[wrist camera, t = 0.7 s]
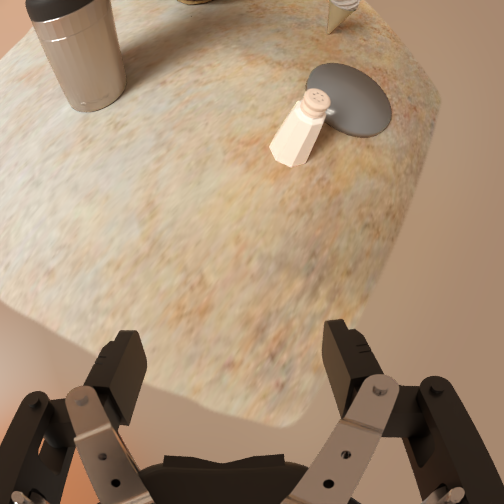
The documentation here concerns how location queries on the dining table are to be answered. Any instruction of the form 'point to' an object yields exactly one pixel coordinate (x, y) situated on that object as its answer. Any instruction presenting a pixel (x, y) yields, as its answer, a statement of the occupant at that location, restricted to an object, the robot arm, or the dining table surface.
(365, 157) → the dining table surface
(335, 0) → the ice cream cone
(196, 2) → the ceramic jug
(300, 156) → the pepper shaker
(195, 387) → the dining table surface
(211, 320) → the dining table surface
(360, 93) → the grey round coaster
